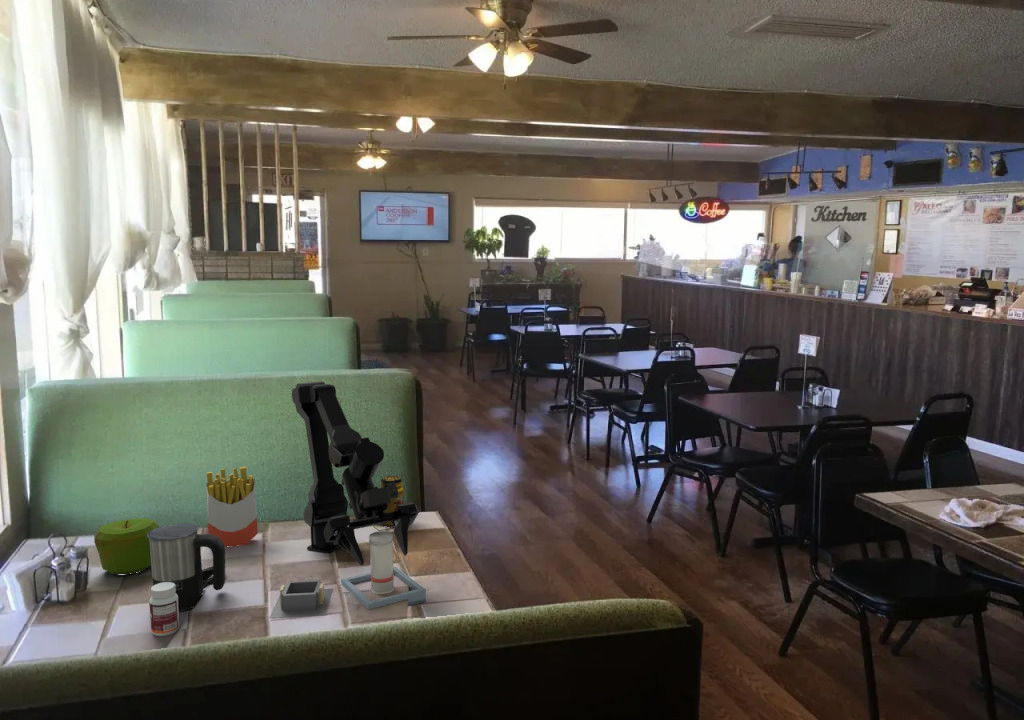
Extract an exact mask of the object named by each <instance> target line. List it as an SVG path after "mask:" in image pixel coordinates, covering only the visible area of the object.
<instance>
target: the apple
mask: <svg viewBox="0 0 1024 720" xmlns="http://www.w3.org/2000/svg"><path fill="white" fill-rule="evenodd" d="M157 528H160V525H159V524H158V523H157V522H156V521H155V520H154V519H151V518H146V517H143V518H137V517H136V518H128V519H122V520H117V521H113V522H108V523H106V524H104V525H102V526H100V527H99V529H98V530H97V531H96V532H95V533H94V539H93V540H94V541H93V542H94V545H95V547H96V550H97V552H98V556H99V560H100V564H101V568H102V569H103V570H104V571H106V572H108V573H110V574H112V575H114V574H130V573H136V572H139V571H142V570H144V569H146V568H147V569H148V568H149V567H150V566H151V553H150V541H149V538H148V537H147V534H148V533H149V532H151V531H152V530H154V529H157ZM147 569H146V570H147ZM144 571H145V570H144ZM142 572H143V571H142ZM136 574H137V573H136Z"/></svg>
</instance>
